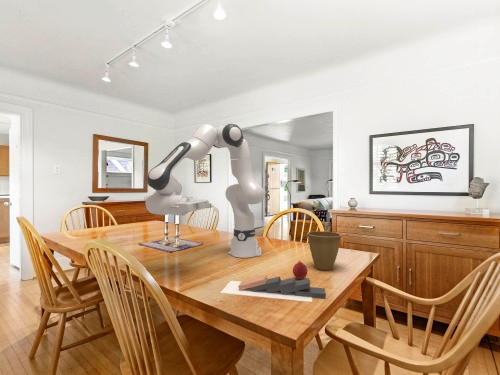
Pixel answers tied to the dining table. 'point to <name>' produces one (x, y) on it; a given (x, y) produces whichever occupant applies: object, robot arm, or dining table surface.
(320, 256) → the plant pot
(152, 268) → the dining table surface
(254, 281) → the terracotta domino
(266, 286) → the domino
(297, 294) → the domino
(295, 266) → the onion
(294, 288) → the domino
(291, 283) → the domino
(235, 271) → the dining table surface
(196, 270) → the dining table surface
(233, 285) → the mat
